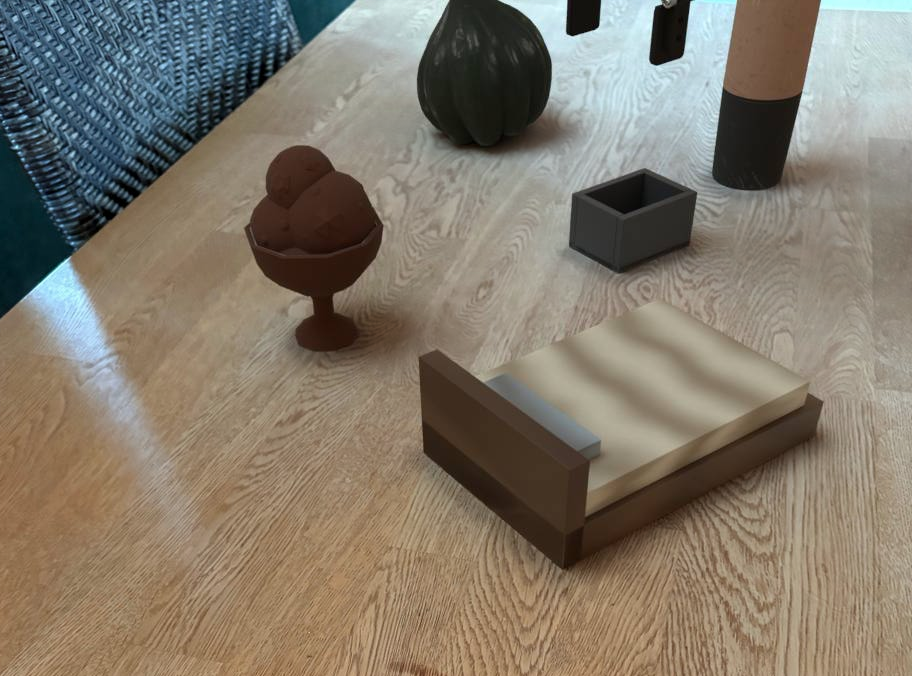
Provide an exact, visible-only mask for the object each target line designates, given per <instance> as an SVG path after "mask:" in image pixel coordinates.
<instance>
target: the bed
mask: <svg viewBox="0 0 912 676" xmlns="http://www.w3.org/2000/svg"><path fill="white" fill-rule="evenodd" d="M418 374H419V375H418V376H419V395H420V412H421V415H420V416H421V433H422V434H421V435H422V451H423V452H422V453H424V454H425V455H426V456H427V457H428V458H429V459H430V460H432V461H433V462H434V463H435V464H436V465H438V466H439V467H440V469H442V470H444V472H446V473H447V474H448V475H450V477H452V478H453V479H454V480H456V482H458V483H459V484H460V485H461V486H463V488H465V489H466V490H467V491H469V493H471V494H472V495H474V497H475V498H477V500H479V501H480V502H482V503H483V504H484V505H485V506H486V507H488V509H490V510H491V511H492V512H494V513H495V515H497V516H498V517H499V518H500V519H502V520H503V521H504V522H505V523H506V524H508V525H509V526H510V527H511V528H512V529H514V530H515V531H516V532H517V533H518V534H520V535H521V536H522V537H523V538H524V539H526V540H527V541H528V542H529V543H530V544H532V546H533V547H535V548H536V549H537V550H539V552H541V553H542V554H543V555H544V556H546V558H548V559H549V560H550V561H552V562H553V564H555V565H556V566H557V567H559V568H560V569H561V570H564V569H567V568H569V567H570V566H572V565H574V564H576V563H578V562H580V561H581V560H583V559H585V558H587V557H589V556H591V555H592V554H594V553H597V552H598V551H600V550H602V549H604V548H606V547H607V546H610V545H612V544H613V543H616V542H617V541H619V540H621V539H623V538H625V537H627V536H629V535H630V534H632V533H635V532H636V531H638V530H640V529H642V528H644V527H645V526H647V525H649V524H651V523H653V522H655V521H657V520H659V519H661V518H662V517H664V516H666V515H668V514H670V513H672V512H674V511H676V510H678V509H679V508H681V507H683V506H685V505H687V504H689V503H691V502H692V501H694V500H696V499H698V498H700V497H702V496H704V495H706V494H708V493H710V492H712V491H714V490H715V489H717V488H719V487H721V486H723V485H725V484H726V483H728V482H730V481H732V480H734V479H736V478H738V477H741V476H742V475H744V474H745V473H748V472H749V471H751V470H753V469H754V468H757V467H758V466H761V465H763V464H764V463H766V462H769V461H770V460H771V459H774V458H776V457H778V456H780V455H781V454H783V453H785V452H787V451H789V450H791V449H793V448H794V447H796V446H798V445H800V444H802V443H803V442H805V441H808V440H809V439H811V438H814V437H815V436H816V435H815V434H816V431H817V427H818V425H819V420H820V417H821V415H822V414H821V413H822V410H823V406H824V402H825V401H824V400H822V399H820V398H819V397H817V396H815V395H813V394H811V393H810V392H809V389H810V385H811V380H809V379H807V378H805V377H803V376H802V375H800V374H799V373H796V371H795V372H794V371H793V370H792V369H789V368H787V367H785V366H783V365H782V364H780V363H778V362H777V361H775V360H773V359H771V358H770V357H768V356H766V355H764V354H762V353H761V352H759V351H757V350H755V349H753V348H752V347H750V346H748V345H746V344H744V343H742V342H741V341H738V340H737V339H735V338H733V337H732V336H730V335H728V334H726V333H724V332H723V331H721V330H719V329H717V328H716V327H714V326H711V325H710V324H708V323H706V322H704V321H703V320H701V319H699V318H697V317H696V316H695V315H692V314H690V313H688V312H687V311H684V310H683V309H681V308H679V307H677V306H676V305H674V304H672V303H670V302H668V301H667V300H665V299H663V298H658V299H655V300H653V301H650V302H648V303H645V304H643V305H641V306H638V307H636V308H634V309H631V310H628V311H627V312H624V313H622V314H619V315H618V316H615V317H612V318H610V319H608V320H605V321H603V322H601V323H598V324H596V325H594V326H591V327H589V328H587V329H584V330H582V331H579V332H577V333H574V334H573V335H569V336H568V337H565V338H563V339H560V340H558V341H556V342H553V343H551V344H548V345H546V346H544V347H541V348H539V349H537V350H535V351H532V352H530V353H528V354H524V355H523V356H520V357H518V358H515V359H513V360H511V361H508V362H507V363H504V364H501V365H498V366H496V367H494V368H492V369H489V370H486V371H485V372H482V373H480V374H478V375H476V376H475V375H473V374H472V373H470V372H469V371H468V370H467V369H465V368H464V367H463V366H461V365H459V364H458V363H457V362H455V361H454V360H453V359H452V358H450V357H448V355H446V354H445V353H443V352H442V351H440V350H439V349H438V348H436V349H434V350H431V351H429V352H427V353H424V354H421V355H419V356H418Z"/></svg>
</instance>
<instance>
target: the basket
mask: <svg viewBox="0 0 912 676" xmlns="http://www.w3.org/2000/svg"><path fill="white" fill-rule="evenodd" d="M697 198H698V191H697V190H695V189H691V188H690V187H688V186H685V185H683V184H681V183H679V182H676V181H674V180H672V179H670V178H668V177H666V176H665V175H661V174H659V173H657V172H655V171H652V170H651V169H648V168H646V167H643V168H640V169H638V170H635V171H631V172H629V173H626V174H624V175H621V176H618V177H614V178H612V179H609V180H606V181H604V182H601V183H598V184H595V185H592V186H589V187H587V188H584V189H581V190H578V191H576V192H572V194H571V205H570V220H569V221H570V223H569V237H568V247H569V248H571V249H573V250H575V251H576V252H578V253H580V254H582V255H584V256H586V257H587V258H589V259H591V260H593V261H594V262H597V263H599V265H601V266H604V267H606V268H608V269H609V270H611V271H613V272H614V273H617V274H621V273H623V272H626V271H628V270H630V269H633V268H636V267H638V266H640V265H643V264H645V263H648V262H650V261H652V260H656V259H657V258H660V257H663V256H665V255H668V254H670V253H673V252H675V251H679V250H681V249H683V248H685V247H688V246H690V245H691V238H692V232H693V226H694V225H693V223H694V220H695V219H694V218H695V211H696V205H697Z"/></svg>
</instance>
